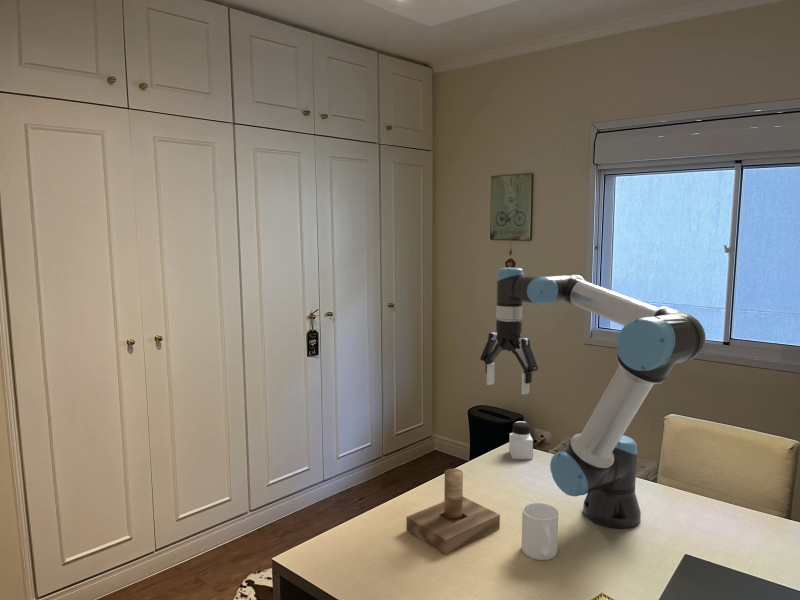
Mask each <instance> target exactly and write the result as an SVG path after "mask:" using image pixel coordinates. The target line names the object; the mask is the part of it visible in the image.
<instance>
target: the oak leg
mask: <svg viewBox="0 0 800 600" xmlns="http://www.w3.org/2000/svg"><path fill="white" fill-rule="evenodd" d="M463 484H464V471H462V470H461V469H458V468H448V469H445V471H444V490H443V491H444V497H443V498H444V500H443V502H444V516H445V518H446V519H447V520H449V521H450V522H452V523H455V522H457V521H459V520H460V519H461V518H462V515H463V512H462V504H463V497H464V496H463V495H464V494H463V492H464V490H463V489H464V485H463Z"/></svg>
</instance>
